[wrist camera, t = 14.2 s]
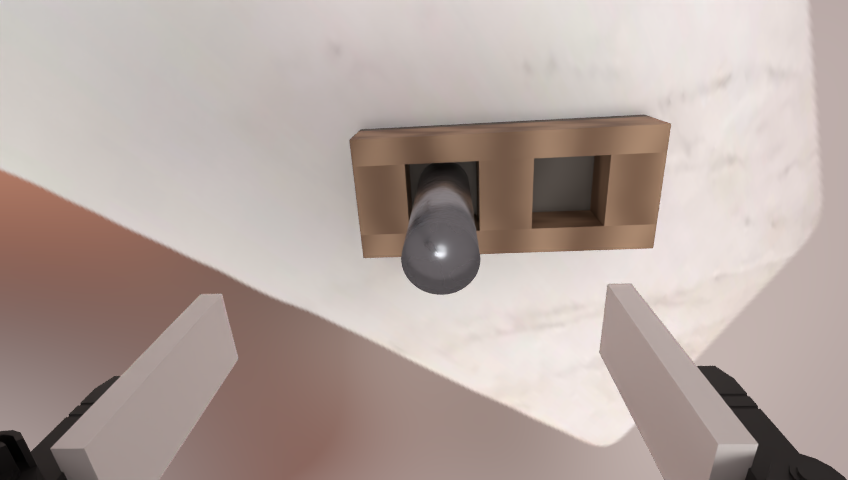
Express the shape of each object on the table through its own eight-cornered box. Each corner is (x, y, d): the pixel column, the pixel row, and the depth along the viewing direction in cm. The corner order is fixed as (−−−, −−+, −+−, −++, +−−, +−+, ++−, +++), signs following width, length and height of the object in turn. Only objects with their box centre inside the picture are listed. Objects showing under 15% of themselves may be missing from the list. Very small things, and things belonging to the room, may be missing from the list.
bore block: (372, 235, 44) (363, 258, 39) (360, 129, 40) (349, 140, 35) (630, 226, 42) (653, 248, 38) (644, 114, 38) (671, 123, 34)
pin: (420, 209, 41) (404, 295, 27) (417, 161, 40) (398, 224, 25) (469, 207, 41) (480, 293, 26) (468, 158, 39) (479, 220, 25)
